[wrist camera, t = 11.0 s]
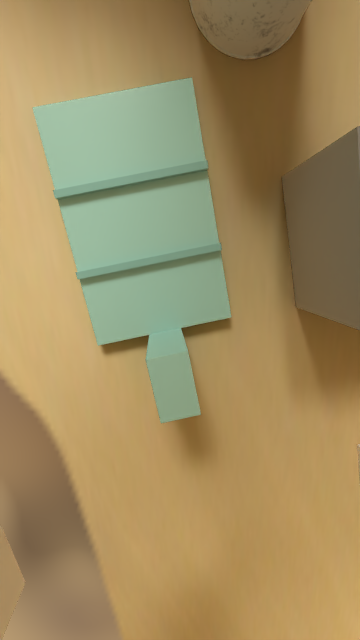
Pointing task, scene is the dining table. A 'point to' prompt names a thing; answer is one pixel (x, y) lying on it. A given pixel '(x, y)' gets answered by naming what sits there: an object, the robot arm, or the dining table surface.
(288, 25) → the grey speckled cylinder
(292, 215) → the tub
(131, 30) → the dining table surface
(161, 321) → the ridged green paddle
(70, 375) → the dining table surface
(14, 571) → the robot arm
